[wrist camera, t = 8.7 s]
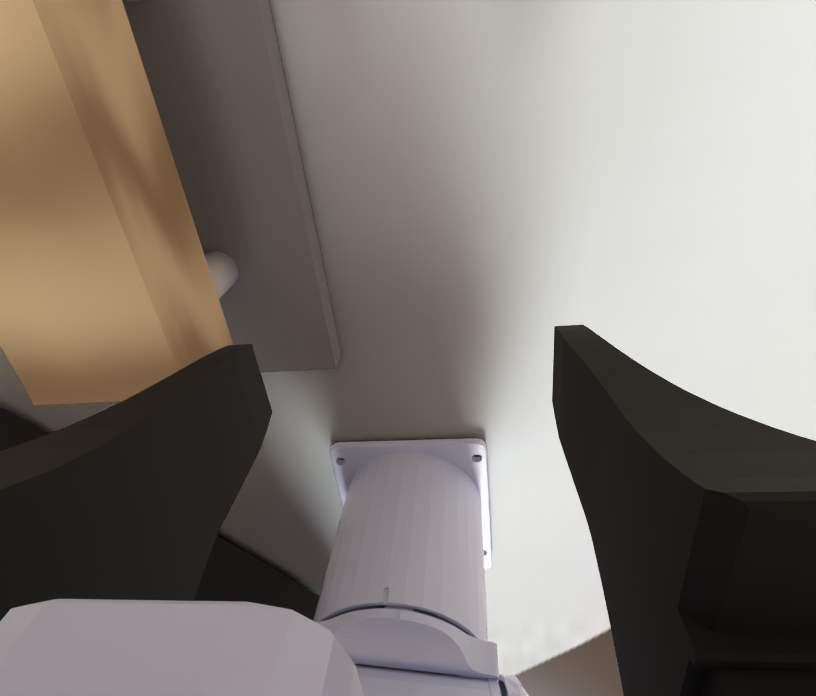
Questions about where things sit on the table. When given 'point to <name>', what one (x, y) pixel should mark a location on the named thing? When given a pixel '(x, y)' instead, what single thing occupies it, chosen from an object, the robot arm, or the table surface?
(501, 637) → the table surface
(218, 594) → the binder
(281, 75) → the peg stand
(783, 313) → the table surface
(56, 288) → the shelf board
